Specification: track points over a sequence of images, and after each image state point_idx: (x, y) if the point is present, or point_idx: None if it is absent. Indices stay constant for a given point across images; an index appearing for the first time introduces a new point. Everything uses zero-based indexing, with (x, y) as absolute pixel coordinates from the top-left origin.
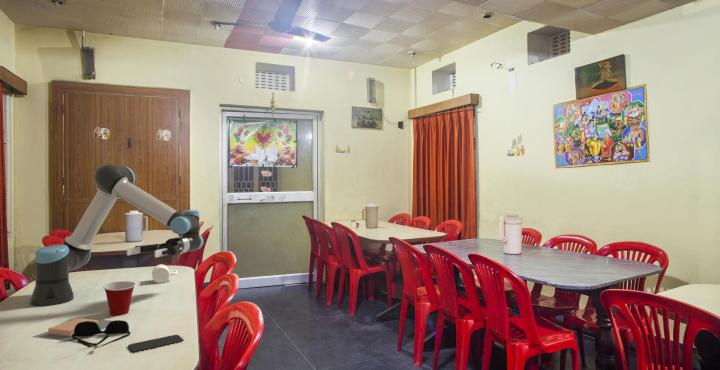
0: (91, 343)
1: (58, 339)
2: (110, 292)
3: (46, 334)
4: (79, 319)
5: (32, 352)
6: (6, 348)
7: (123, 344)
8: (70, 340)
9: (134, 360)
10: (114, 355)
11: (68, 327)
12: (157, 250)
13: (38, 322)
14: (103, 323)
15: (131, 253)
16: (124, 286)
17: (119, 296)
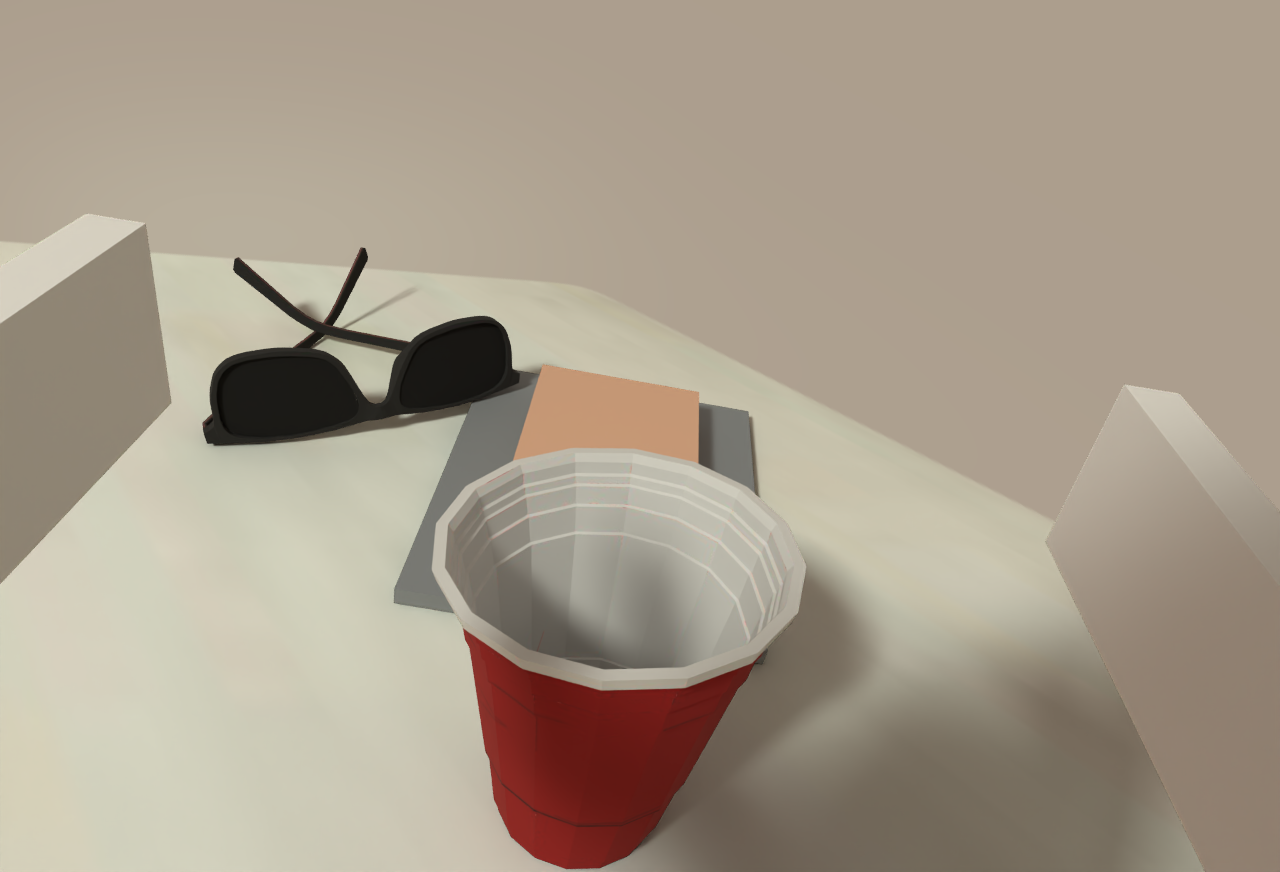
0: (346, 330)
1: None
2: (614, 493)
3: (709, 429)
4: None
5: (583, 332)
6: (740, 363)
7: (185, 360)
8: None
9: None
10: (174, 291)
11: (595, 394)
12: (54, 237)
13: (1049, 619)
14: None
15: (1099, 593)
16: (669, 703)
17: (529, 549)
